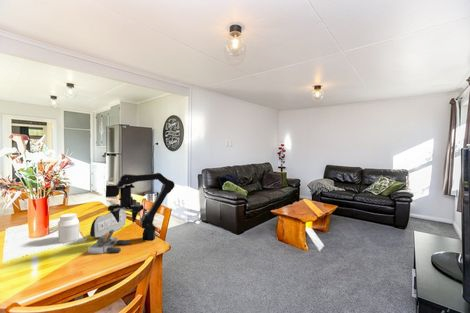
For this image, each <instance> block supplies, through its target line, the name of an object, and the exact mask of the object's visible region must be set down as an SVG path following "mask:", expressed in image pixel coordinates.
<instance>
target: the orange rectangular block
mask: <svg viewBox="0 0 470 313" xmlns="http://www.w3.org/2000/svg"><path fill="white" fill-rule="evenodd" d="M109 235H110V233H108V232H107V233H106V234H105V235H103V236H105V238H104V240H103V241H102V243H103V242H104V241H106V240H107V238H108V236H109Z"/></svg>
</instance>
